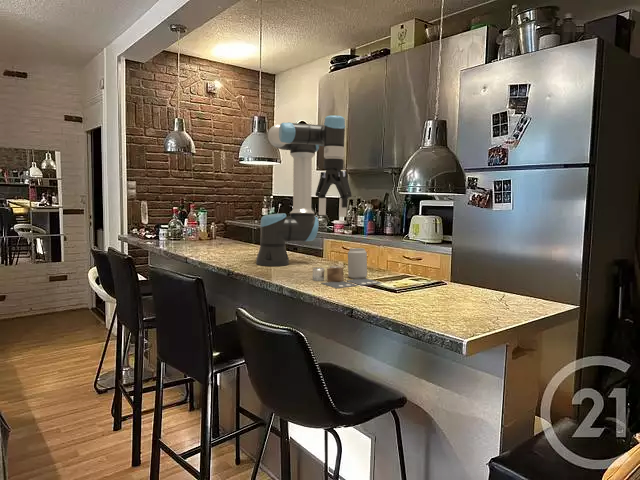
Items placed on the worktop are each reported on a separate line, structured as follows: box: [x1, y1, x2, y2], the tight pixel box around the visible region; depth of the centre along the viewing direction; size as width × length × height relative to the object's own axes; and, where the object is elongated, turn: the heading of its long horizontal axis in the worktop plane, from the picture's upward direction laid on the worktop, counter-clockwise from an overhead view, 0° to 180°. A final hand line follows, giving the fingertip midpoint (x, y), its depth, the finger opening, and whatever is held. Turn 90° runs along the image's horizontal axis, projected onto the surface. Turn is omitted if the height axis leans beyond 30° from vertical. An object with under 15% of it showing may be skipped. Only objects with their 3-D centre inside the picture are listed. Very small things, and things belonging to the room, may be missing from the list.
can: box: [347, 247, 368, 280], centre depth 188 cm, size 8×8×12 cm
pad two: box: [320, 280, 359, 289], centre depth 174 cm, size 10×10×1 cm
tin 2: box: [329, 265, 341, 268], centre depth 186 cm, size 4×4×5 cm
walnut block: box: [326, 266, 345, 282], centre depth 181 cm, size 5×5×5 cm
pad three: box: [344, 277, 382, 287], centre depth 180 cm, size 10×10×1 cm
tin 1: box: [312, 267, 325, 282], centre depth 181 cm, size 4×4×5 cm
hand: (332, 215), depth 177 cm, fingers open, 13 cm apart
